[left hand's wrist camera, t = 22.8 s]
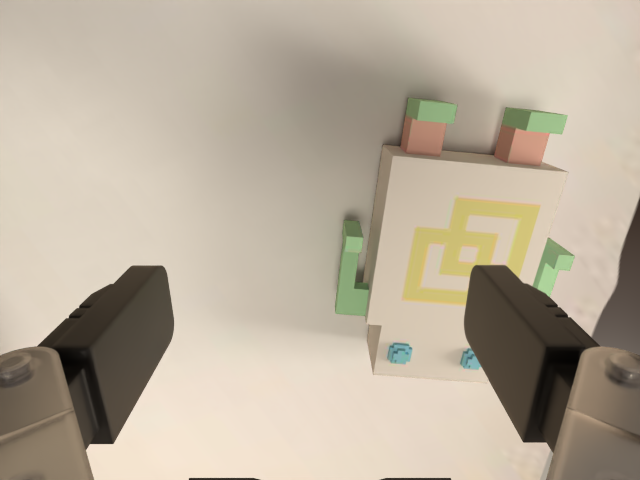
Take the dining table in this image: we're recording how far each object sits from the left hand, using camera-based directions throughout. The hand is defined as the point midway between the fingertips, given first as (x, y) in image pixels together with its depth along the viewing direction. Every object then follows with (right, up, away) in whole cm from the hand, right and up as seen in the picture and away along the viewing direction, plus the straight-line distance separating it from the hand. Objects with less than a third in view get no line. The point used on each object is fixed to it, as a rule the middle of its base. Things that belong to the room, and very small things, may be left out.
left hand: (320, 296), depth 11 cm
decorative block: (+12, +2, +31) cm, 33 cm away
